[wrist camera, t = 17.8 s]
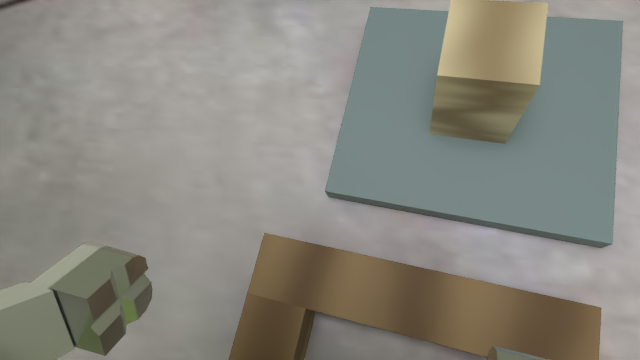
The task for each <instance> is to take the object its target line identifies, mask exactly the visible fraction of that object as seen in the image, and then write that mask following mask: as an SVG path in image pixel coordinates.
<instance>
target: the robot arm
mask: <svg viewBox="0 0 640 360" xmlns="http://www.w3.org/2000/svg"><path fill="white" fill-rule="evenodd" d="M147 269H148V266H147V263H146V259H145V258H144V257H142V256H139V255H136V254H132V253H129V252H125V251H122V250H118V249H115V248H111V247H108V246H103V245H100V244H96V243H93V242H89V243H85V244H82V245H81V246H79V247H78V248H77V249H75V250H74V251H73V252H71V253H70V254H68V255H67V256H66V257H64V258H63V259H62V260H60V261H59V262H58V263H56V264H55V265H54V266H52V267H51V268H49V269H48V270H47V271H45V272H44V273H43V274H41V275H40V276H39V277H37V278H36V279H35V280H33V281H32V282H31V283H27V282H23V283H20V284H17V285H14V286H11V287H8V288H5V289H2V290H0V360H56V359H58V358H59V357H61V356H63V355H65V354H66V353H68V352H70V351H72V350H74V349H75V348H74V347H77V348H81V349H84V350H87V351H91V352H94V353H98V354H101V355H104V356H106V355H107V354H108V352H109V351H110V350H111V349H112V348H113V347H114V346H115V345H116V344H117V342H118V341H119V340H120V339H121V338H122V337H123V336H124V335H125V334H126V326H127V324H129V323H131V322H133V321H136V320H138V319H139V318H140V317H141V316H142V314H143V313H144V312H145V311H146V309H147V307H148V305H149V303H150V301H151V298H152V285H151V282H150V280H149V279H148V278H147V277H146V275H145V274H144V273H145V272H146V271H147ZM487 360H546V359H545V358H541V357H537V356H533V355H529V354H525V353H521V352H516V351H512V350H508V349H504V348H500V347H496V346H493V347H492V348H491V349H490V351H489V353H488V356H487Z"/></svg>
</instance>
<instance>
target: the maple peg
mask: <svg viewBox="0 0 640 360" xmlns="http://www.w3.org/2000/svg"><path fill="white" fill-rule="evenodd" d="M547 11H548V3H533V2H511V1H489V0H451V2H450V8H449V13H448V19H447V24H446V29H445V35H444V40H443V46H442V51H441V57H440V62H439V67H438V73H437V80H436V87H435V95H434V103H433V110H432V118H431V126H430V133H429V134H434V135H441V136H449V137H456V138H464V139H471V140H479V141H486V142H494V143H501V144H505V143H506V142H507V140H508V138H509V136H510V135H511V133H512V131H513V130H514V128H515V126H516V124H517V123H518V121H519V119H520V118H521V116H522V114H523V113H524V111H525V109H526V107H527V106H528V104H529V102H530V101H531V99H532V97H533V96H534V94H535V92H536V90H537V89H538V87H539V85H540V77H541V67H542V58H543V48H544V39H545V30H546V20H547Z"/></svg>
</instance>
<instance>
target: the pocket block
mask: <svg viewBox="0 0 640 360" xmlns="http://www.w3.org/2000/svg"><path fill="white" fill-rule="evenodd" d="M315 311H317V312H321V313H324V314H328V315H332V316H335V317H339V318H343V319H347V320H350V321H354V322H358V323H362V324H365V325H369V326H373V327H376V328H380V329H384V330H388V331H391V332H395V333H399V334H402V335H406V336H410V337H414V338H417V339H421V340H425V341H429V342H432V343H436V344H440V345H443V346H447V347H451V348H455V349H458V350H462V351H466V352H469V353H473V354H477V355H481V356H484V357H487V356H488V353H489V351H490V349H491V348H492V347H493V346H496V347H500V348H504V349H508V350H512V351H516V352H521V353H525V354H529V355H533V356H537V357H541V358H545V359H546V360H599V344H600V325H601V308H600V307H596V306H591V305H587V304H582V303H578V302H573V301H569V300H564V299H560V298H555V297H551V296H546V295H542V294H537V293H533V292H528V291H524V290H519V289H515V288H510V287H506V286H501V285H496V284H492V283H487V282H483V281H478V280H474V279H469V278H465V277H460V276H456V275H451V274H447V273H442V272H438V271H433V270H429V269H424V268H420V267H415V266H411V265H406V264H402V263H397V262H393V261H388V260H384V259H379V258H375V257H370V256H366V255H361V254H357V253H352V252H348V251H343V250H339V249H334V248H330V247H325V246H321V245H316V244H312V243H307V242H303V241H298V240H294V239H289V238H285V237H280V236H276V235H271V234H267V233H264V236H263V240H262V243H261V247H260V250H259V254H258V257H257V261H256V264H255V268H254V272H253V275H252V279H251V282H250V286H249V289H248V293H247V296H246V300H245V303H244V307H243V311H242V314H241V318H240V321H239V325H238V328H237V332H236V335H235V339H234V342H233V346H232V350H231V353H230V357H229V360H304V357H305V353H306V348H307V344H308V340H309V336H310V331H311V327H312V323H313V319H314V314H315Z"/></svg>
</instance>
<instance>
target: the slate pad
mask: <svg viewBox="0 0 640 360" xmlns="http://www.w3.org/2000/svg"><path fill="white" fill-rule="evenodd" d="M448 13H449V11H432V10H414V9H395V8H377V7H370V12H369V16H368V20H367V24H366V28H365V32H364V36H363V40H362V44H361V48H360V52H359V56H358V60H357V64H356V68H355V72H354V76H353V80H352V84H351V88H350V92H349V96H348V100H347V104H346V108H345V112H344V116H343V120H342V124H341V128H340V132H339V136H338V140H337V145H336V149H335V153H334V157H333V161H332V165H331V169H330V173H329V177H328V181H327V185H326V189H325V192H326V193H327V195H328V196H329V197H333V198H338V199H343V200H349V201H354V202H359V203H365V204H370V205H375V206H381V207H386V208H391V209H397V210H402V211H407V212H413V213H418V214H423V215H429V216H434V217H439V218H445V219H450V220H455V221H461V222H466V223H471V224H477V225H482V226H488V227H493V228H498V229H504V230H509V231H514V232H520V233H525V234H530V235H536V236H541V237H546V238H552V239H557V240H562V241H568V242H573V243H578V244H584V245H589V246H594V247H600V248H602V247H605V246H608V245H611V244H613V223H614V201H615V180H616V158H617V137H618V116H619V94H620V73H621V51H622V30H623V21H614V20H596V19H577V18H559V17H547V20H546V30H545V39H544V48H543V58H542V67H541V77H540V85H539V87H538V89H537V90H536V92H535V94H534V96H533V97H532V99H531V101H530V102H529V104H528V106H527V107H526V109H525V111H524V113H523V114H522V116H521V118H520V119H519V121H518V123H517V124H516V126H515V128H514V130H513V131H512V133H511V135H510V136H509V138H508V140H507V142H506V143H505V144H501V143H494V142H486V141H479V140H471V139H464V138H456V137H449V136H441V135H434V134H429V133H430V126H431V118H432V110H433V103H434V95H435V87H436V80H437V73H438V67H439V62H440V57H441V51H442V46H443V40H444V35H445V29H446V24H447V19H448Z"/></svg>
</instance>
